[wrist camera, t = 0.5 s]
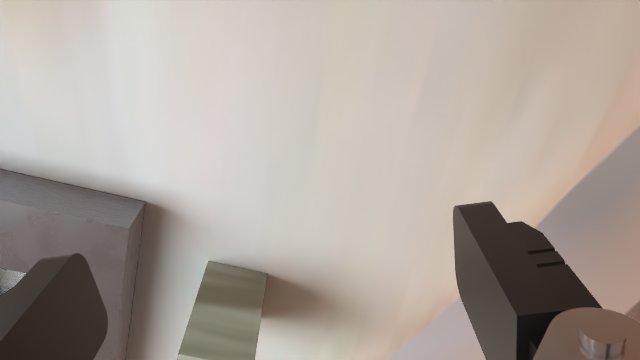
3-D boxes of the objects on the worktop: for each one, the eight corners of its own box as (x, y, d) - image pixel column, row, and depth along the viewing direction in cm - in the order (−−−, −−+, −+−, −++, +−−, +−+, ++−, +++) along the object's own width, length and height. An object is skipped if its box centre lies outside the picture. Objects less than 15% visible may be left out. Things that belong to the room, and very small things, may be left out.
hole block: (-114, 143, 30) (-157, 166, 27) (145, 201, 31) (128, 228, 29) (-88, 329, 36) (-120, 361, 34) (124, 368, 38) (109, 402, 36)
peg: (208, 260, 34) (178, 354, 27) (267, 273, 34) (253, 368, 27) (199, 305, 35) (168, 404, 28) (255, 317, 36) (239, 416, 29)
